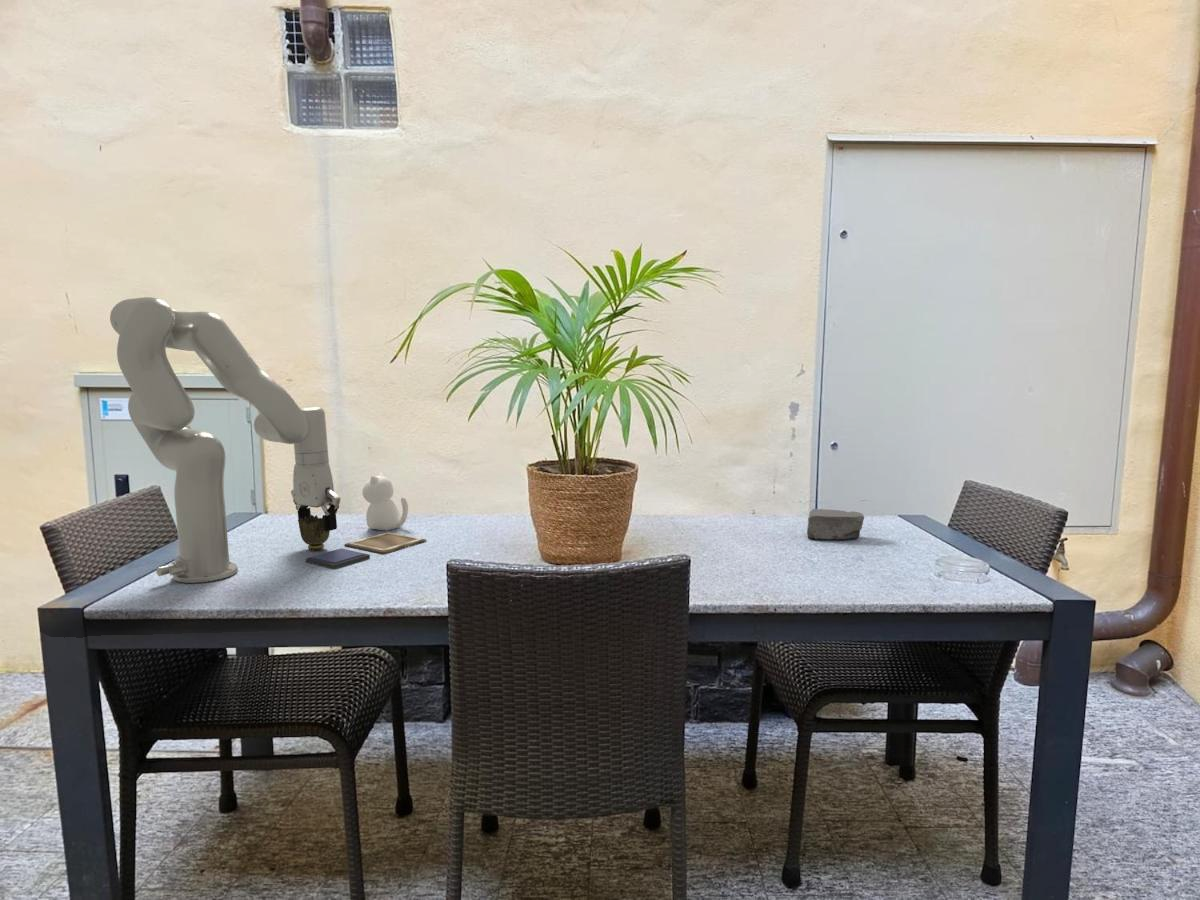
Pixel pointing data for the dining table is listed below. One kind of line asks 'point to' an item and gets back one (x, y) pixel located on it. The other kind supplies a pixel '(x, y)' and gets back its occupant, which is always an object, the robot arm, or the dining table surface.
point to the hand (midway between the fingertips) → (317, 527)
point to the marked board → (385, 542)
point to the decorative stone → (834, 525)
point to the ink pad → (337, 558)
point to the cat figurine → (383, 504)
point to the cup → (313, 532)
